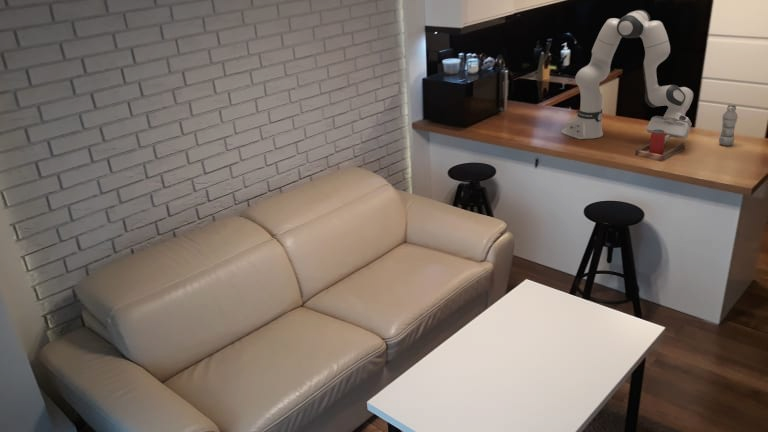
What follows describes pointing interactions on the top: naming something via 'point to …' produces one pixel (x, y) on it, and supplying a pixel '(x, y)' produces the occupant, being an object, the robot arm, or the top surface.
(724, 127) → the plastic bottle
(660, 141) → the beer can
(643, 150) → the walnut channel
